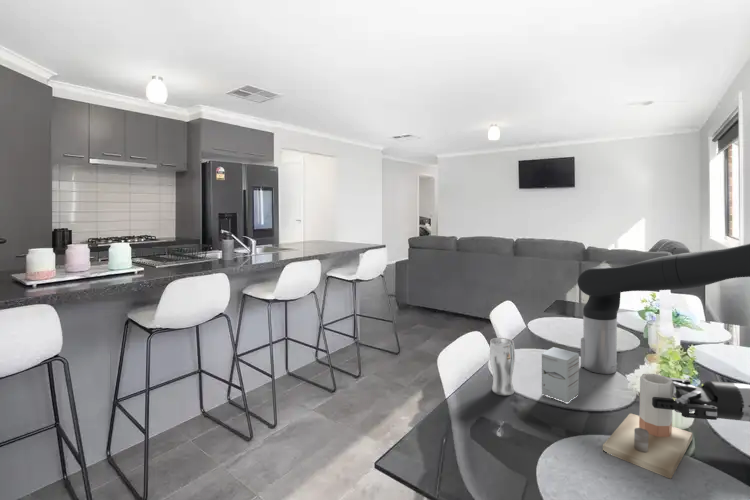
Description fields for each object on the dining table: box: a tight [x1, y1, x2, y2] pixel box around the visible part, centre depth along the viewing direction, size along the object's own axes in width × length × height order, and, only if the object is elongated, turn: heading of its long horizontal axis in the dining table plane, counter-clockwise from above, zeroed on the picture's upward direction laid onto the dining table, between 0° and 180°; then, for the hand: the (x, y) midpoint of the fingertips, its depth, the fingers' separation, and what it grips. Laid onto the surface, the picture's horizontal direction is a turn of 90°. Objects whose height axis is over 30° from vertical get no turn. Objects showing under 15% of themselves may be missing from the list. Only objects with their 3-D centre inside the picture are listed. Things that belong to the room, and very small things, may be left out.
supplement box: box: [541, 346, 580, 402], centre depth 107 cm, size 7×7×13 cm
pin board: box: [602, 412, 693, 480], centre depth 84 cm, size 12×18×6 cm, turn 130°
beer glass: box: [489, 337, 516, 397], centre depth 112 cm, size 7×7×15 cm
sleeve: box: [638, 373, 674, 437], centre depth 87 cm, size 6×6×12 cm
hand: (646, 393), depth 87 cm, fingers open, 8 cm apart
